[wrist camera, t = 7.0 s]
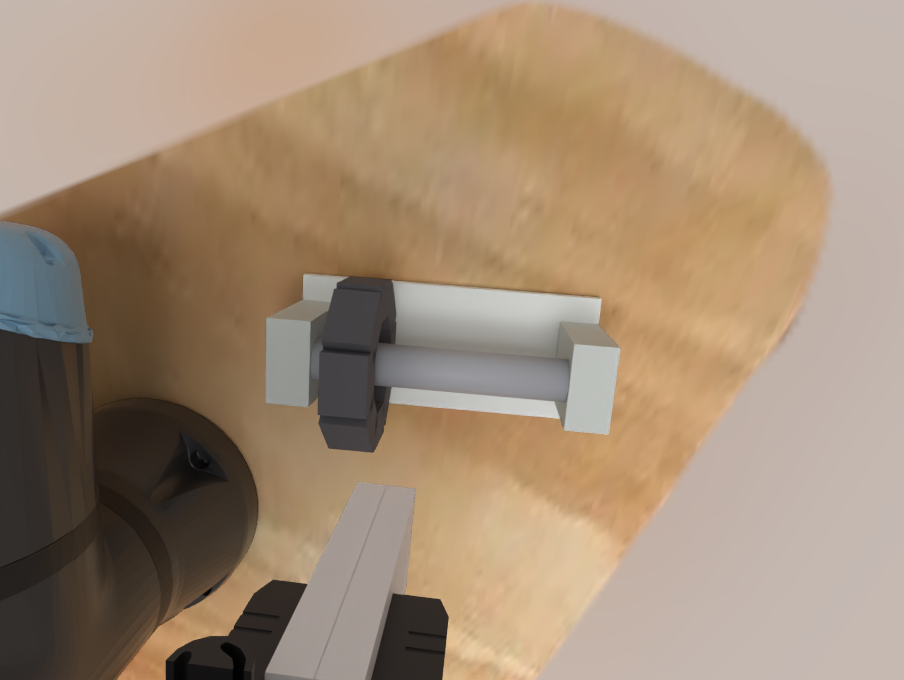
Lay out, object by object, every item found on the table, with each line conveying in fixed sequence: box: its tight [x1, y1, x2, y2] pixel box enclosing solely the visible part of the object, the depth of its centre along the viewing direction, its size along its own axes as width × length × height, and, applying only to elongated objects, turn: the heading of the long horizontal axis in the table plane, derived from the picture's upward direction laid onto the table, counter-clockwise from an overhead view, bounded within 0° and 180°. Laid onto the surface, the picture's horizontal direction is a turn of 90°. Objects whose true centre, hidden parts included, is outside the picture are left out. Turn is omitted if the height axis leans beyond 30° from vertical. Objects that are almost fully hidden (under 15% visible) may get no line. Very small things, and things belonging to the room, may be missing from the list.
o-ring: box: [318, 276, 397, 452], centre depth 34 cm, size 2×9×9 cm, turn 176°
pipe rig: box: [265, 273, 621, 435], centre depth 37 cm, size 19×8×7 cm, turn 86°
